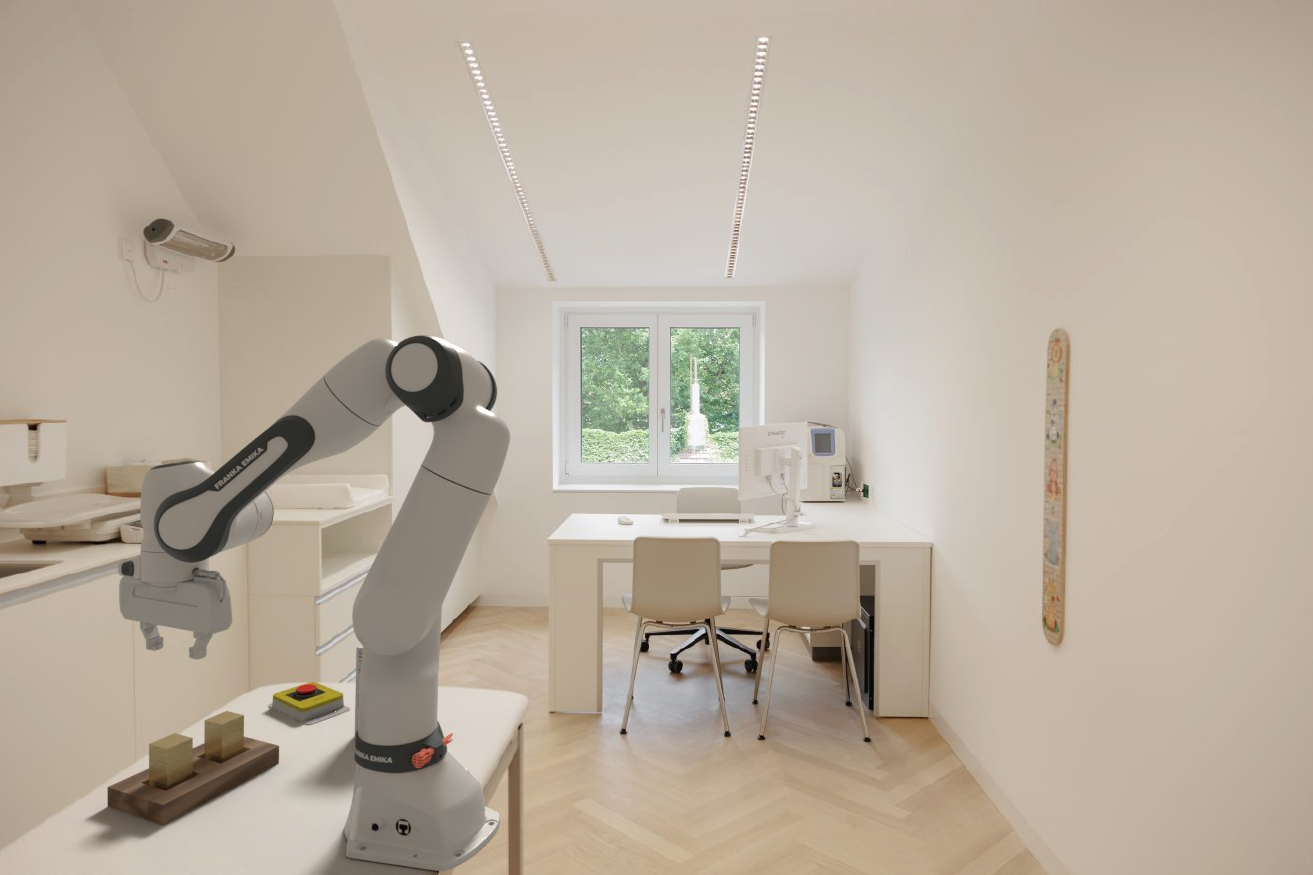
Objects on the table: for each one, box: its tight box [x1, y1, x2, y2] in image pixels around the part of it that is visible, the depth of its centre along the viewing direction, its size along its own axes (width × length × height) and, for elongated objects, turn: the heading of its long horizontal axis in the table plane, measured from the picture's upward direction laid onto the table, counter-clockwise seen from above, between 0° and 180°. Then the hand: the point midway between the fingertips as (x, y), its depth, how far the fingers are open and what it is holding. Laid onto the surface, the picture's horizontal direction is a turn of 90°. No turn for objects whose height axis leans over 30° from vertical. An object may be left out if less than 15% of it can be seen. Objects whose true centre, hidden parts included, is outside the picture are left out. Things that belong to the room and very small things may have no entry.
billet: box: [148, 732, 194, 791], centre depth 111 cm, size 4×4×9 cm
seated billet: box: [203, 710, 245, 763], centre depth 120 cm, size 4×4×9 cm
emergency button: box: [267, 681, 351, 726], centre depth 145 cm, size 9×4×15 cm
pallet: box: [107, 736, 280, 826], centre depth 116 cm, size 12×20×3 cm, turn 159°
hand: (175, 653), depth 112 cm, fingers open, 8 cm apart
